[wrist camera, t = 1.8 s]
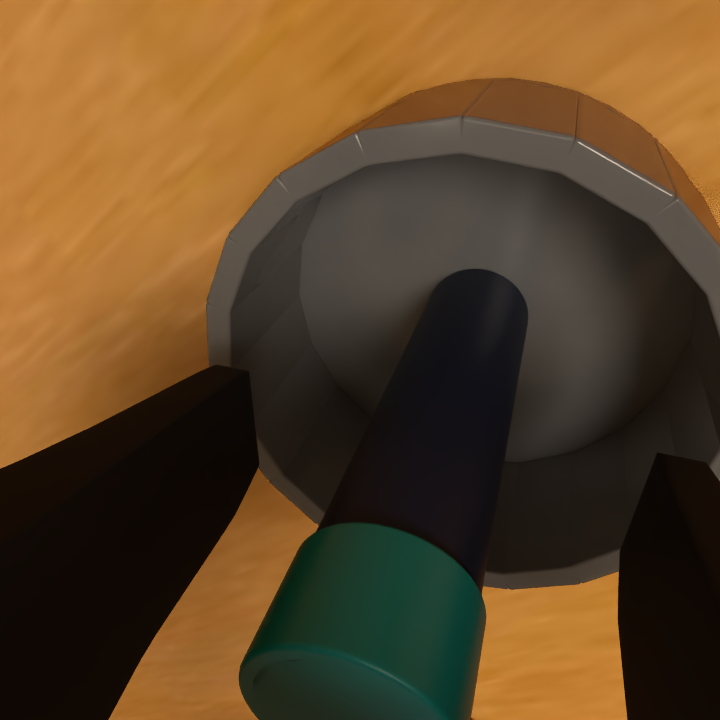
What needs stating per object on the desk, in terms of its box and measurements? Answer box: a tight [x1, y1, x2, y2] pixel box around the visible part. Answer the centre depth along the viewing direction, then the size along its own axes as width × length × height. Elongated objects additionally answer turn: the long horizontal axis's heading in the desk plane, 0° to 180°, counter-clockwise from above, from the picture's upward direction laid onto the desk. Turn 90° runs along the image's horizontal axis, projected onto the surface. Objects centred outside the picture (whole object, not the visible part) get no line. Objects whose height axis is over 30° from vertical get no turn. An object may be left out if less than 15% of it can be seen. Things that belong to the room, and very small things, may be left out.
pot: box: [206, 78, 720, 590], centre depth 12 cm, size 9×9×4 cm
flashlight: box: [239, 269, 528, 720], centre depth 10 cm, size 2×2×9 cm
